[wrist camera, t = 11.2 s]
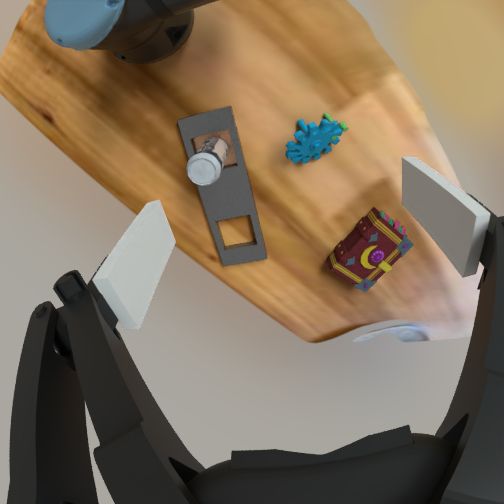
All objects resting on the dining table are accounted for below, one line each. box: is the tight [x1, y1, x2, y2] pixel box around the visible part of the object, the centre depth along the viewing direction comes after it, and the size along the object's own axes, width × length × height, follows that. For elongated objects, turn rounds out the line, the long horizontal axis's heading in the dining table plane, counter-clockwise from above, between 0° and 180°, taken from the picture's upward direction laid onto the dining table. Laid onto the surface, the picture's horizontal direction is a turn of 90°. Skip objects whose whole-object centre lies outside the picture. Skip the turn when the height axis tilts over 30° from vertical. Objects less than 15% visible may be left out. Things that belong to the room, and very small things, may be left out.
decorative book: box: [327, 208, 414, 292], centre depth 55 cm, size 11×16×5 cm
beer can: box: [186, 137, 229, 186], centre depth 41 cm, size 5×5×12 cm
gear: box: [286, 113, 348, 163], centre depth 42 cm, size 11×6×10 cm
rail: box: [178, 106, 267, 266], centre depth 50 cm, size 30×9×2 cm, turn 12°
